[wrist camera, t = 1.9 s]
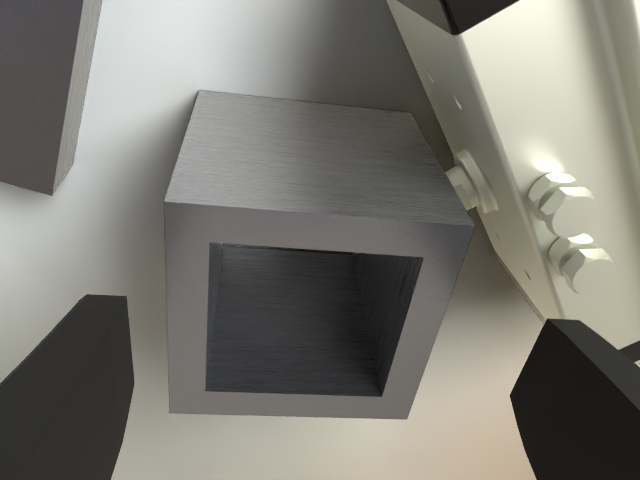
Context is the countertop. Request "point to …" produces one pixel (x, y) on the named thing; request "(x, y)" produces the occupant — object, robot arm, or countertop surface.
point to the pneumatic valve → (544, 143)
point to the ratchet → (43, 87)
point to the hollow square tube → (305, 259)
